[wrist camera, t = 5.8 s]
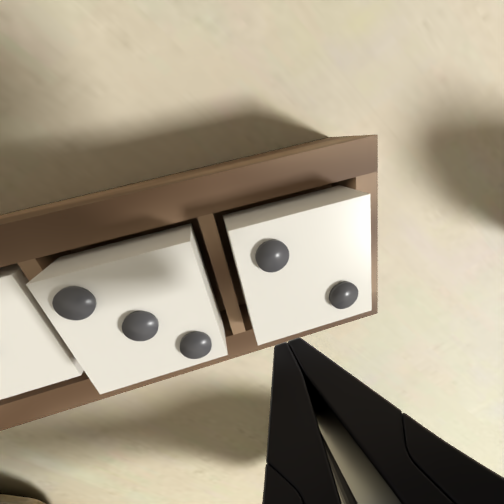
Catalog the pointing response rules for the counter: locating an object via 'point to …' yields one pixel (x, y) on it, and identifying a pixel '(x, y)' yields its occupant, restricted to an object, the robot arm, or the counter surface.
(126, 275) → the tile three pips
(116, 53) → the counter surface
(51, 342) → the tile one pip
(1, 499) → the ceramic bowl
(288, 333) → the tile two pips
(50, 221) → the tile panel
